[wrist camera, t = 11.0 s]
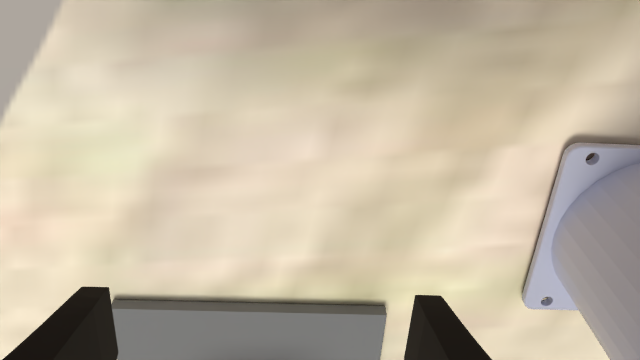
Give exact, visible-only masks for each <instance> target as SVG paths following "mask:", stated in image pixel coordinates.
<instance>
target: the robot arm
mask: <svg viewBox="0 0 640 360" xmlns="http://www.w3.org/2000/svg"><path fill="white" fill-rule="evenodd" d="M590 153H595V155H594V156H593V158H592V159H590V160H586V157H587V156H588V155H589V154H590ZM545 297H548V298H547V299H545V300H542V299H543V298H545ZM522 300H523V302H524V304H525V306H526V307H527V308H530V309H550V310H579V311H580V313H581V314H582V316H583V318H584V319H585V321H586V322H587V324H588V326H589V327H590V329H591V330H592V332H593V333H594V335H595V337H596V338H597V340H598V341H599V343H600V344H601V346H602V348H603V349H604V351H605V352H606V354H607V355H608V357H609V359H610V360H640V145H626V144H602V143H574V144H572V145H570V146H569V147H568V148H567V149H565V151H564V153H563V156H562V160H561V163H560V167H559V170H558V174H557V177H556V181H555V184H554V187H553V191H552V194H551V198H550V201H549V205H548V208H547V211H546V215H545V218H544V222H543V225H542V229H541V232H540V235H539V239H538V242H537V246H536V249H535V253H534V256H533V259H532V263H531V266H530V270H529V273H528V277H527V280H526V283H525V287H524V290H523V294H522ZM117 356H118V346H117V339H116V332H115V326H114V319H113V312H112V306H111V299H110V292H109V287H81V288H80V289H79V290H78V291H77V292H76V293H75V294H73V295H72V296H71V297H70V298H69V299H68V300H67V301H66V302H65V303H64V304H63V305H62V306H61V307H60V308H59V309H58V310H56V311H55V312H54V313H53V314H52V315H51V316H50V317H49V318H48V319H47V320H46V321H45V322H44V323H43V324H42V325H41V326H39V327H38V328H37V329H36V330H35V331H34V332H33V333H32V334H31V335H30V336H28V337H27V338H26V339H25V340H24V341H23V342H22V343H21V344H20V345H19V346H17V347H16V348H15V349H14V350H13V351H12V352H11V353H10V354H8V355H7V356H6V357H5V358H4V359H2V360H117ZM404 360H492V359H491V358H490V357H489V356H488V355H487V353H486V352H485V351H484V350H483V349H482V348H481V346H480V345H479V344H478V343H477V341H476V340H475V339H474V338H473V336H472V335H471V334H470V333H469V331H468V330H467V329H466V328H465V326H464V325H463V324H462V322H461V321H460V320H459V319H458V317H457V316H456V315H455V313H454V312H453V311H452V309H451V308H450V307H449V305H448V304H447V303H446V301H445V300H444V299H443V298H442V297H441V296H433V295H415V300H414V305H413V311H412V317H411V322H410V328H409V334H408V339H407V345H406V351H405V356H404Z"/></svg>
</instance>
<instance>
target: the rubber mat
mask: <svg viewBox="0 0 640 360" xmlns="http://www.w3.org/2000/svg"><path fill="white" fill-rule="evenodd" d="M111 306H112V312H113V319H114V326H115V332H116V339H117V346H118V356H117V360H380V356H381V349H382V342H383V336H384V329H385V322H386V310H385V306H364V305H322V304H280V303H238V302H196V301H154V300H113V302H112V304H111Z"/></svg>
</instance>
